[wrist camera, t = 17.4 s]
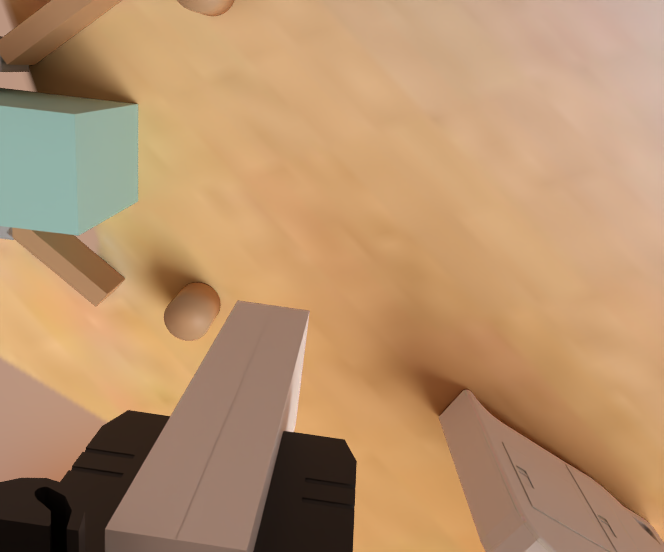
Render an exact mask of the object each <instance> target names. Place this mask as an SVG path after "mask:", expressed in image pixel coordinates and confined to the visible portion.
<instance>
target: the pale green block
mask: <svg viewBox="0 0 664 552" xmlns="http://www.w3.org/2000/svg"><path fill="white" fill-rule="evenodd" d="M136 202H138V104H133V103H125V102H116V101H107V100H99V99H90V98H82V97H73V96H64V95H56V94H47V93H38V92H31V91H23V90H14V89H5V88H0V226H4V227H12V228H21V229H29V230H37V231H45V232H53V233H62V234H70V235H80V234H82V233H84V232H86V231H87V230H89V229H91V228H93V227H94V226H96V225H98V224H100V223H101V222H103V221H105V220H106V219H108V218H110V217H112V216H113V215H115V214H117V213H119V212H120V211H122V210H124V209H126V208H127V207H129V206H131V205H133V204H134V203H136Z"/></svg>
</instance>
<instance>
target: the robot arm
mask: <svg viewBox="0 0 664 552" xmlns="http://www.w3.org/2000/svg"><path fill="white" fill-rule="evenodd" d="M309 312H310V311H308V310H301V309H294V308H287V307H280V306H273V305H266V304H259V303H252V302H245V301H237V303H236V304H235V306H234V308H233V310H232V311H231V313H230V315H229V316H228V318H227V320H226V322H225V323H224V325H223V327H222V328H221V330H220V332H219V334H218V335H217V337H216V339H215V341H214V342H213V344H212V346H211V347H210V349H209V351H208V353H207V354H206V356H205V358H204V359H203V361H202V363H201V365H200V366H199V368H198V370H197V372H196V373H195V375H194V377H193V378H192V380H191V382H190V384H189V385H188V387H187V389H186V390H185V392H184V394H183V396H182V397H181V399H180V401H179V403H178V404H177V406H176V408H175V409H174V411H173V413H172V415H171V416H164V415H157V414H150V413H144V412H137V411H130V410H128V411H126V412H125V413H123V414H121V415H120V416H118V417H116V418H115V419H113V420H112V421H110V422H108V423H107V424H105V425H103V426H102V427H101V428H100V430H99V431H98V432H97V434H96V435H95V436H94V438H93V439H92V440H91V442H90V443H89V444H88V446H87V447H86V450H85V452H82V454H81V455H80V456H79V458H78V459H77V460H76V462H75V463H74V464H73V466H72V470H71V471H70V470H69V471H68V472H67V474H66V475H65V476H64V478H63V479H62V480H61V481H60V482H57V481H54V480H51V479H47V478H18V479H14V480H9V481H4V482H0V552H353V530H354V506H355V485H356V462H357V461H356V460H355V458H354V456H353V454H352V452H351V451H350V449H349V447H348V445H347V443H346V441H345V440H343V439H336V438H330V437H323V436H316V435H309V434H302V433H295V432H294V429H295V425H296V417H297V409H298V401H299V393H300V385H301V376H302V368H303V360H304V352H305V344H306V336H307V328H308V320H309Z"/></svg>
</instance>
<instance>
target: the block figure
mask: <svg viewBox="0 0 664 552" xmlns="http://www.w3.org/2000/svg"><path fill="white" fill-rule="evenodd" d="M120 1H122V0H51V1H50V2H48V3H47V4H46V5H44V6H43V7H42V8H40V9H39V10H38V11H37V12H35V13H34V14H33V15H31V16H30V17H29V18H27V19H26V20H25V21H23V22H22V23H21V24H20V25H18V26H17V27H16V28H14V29H13V30H12V31H10V32H9V33H8V34H7V35H5V36H4V37H1V36H0V72H29V65H35V64H36V63H38V62H39V61H40V60H42V59H43V58H45V57H46V56H47V55H49V54H50V53H51V52H53V51H54V50H55V49H57V48H58V47H59V46H61V45H62V44H63V43H65V42H66V41H68V40H69V39H70V38H72V37H73V36H74V35H76V34H77V33H78V32H80V31H81V30H82V29H84V28H85V27H86V26H88V25H89V24H91V23H92V22H93V21H95V20H96V19H97V18H99V17H100V16H101V15H103V14H104V13H105V12H107V11H108V10H109V9H111V8H112V7H114V6H115V5H116V4H118V3H119V2H120ZM177 1H178V2H179V3H180V4H181V5H182V6H184V7H185V8H187V9H189V10H191V11H195V12H198V13H201V14H204V15H208V16H218V15H221V14H223V13H225V12H226V11H227V10H229V8H230V7H231V6H232V4H233V2H234V0H177ZM0 238H2V239H10V240H14V239H15V240H16V241H17V242H19V243H20V244H21V245H22V246H23V247H25V248H26V249H27V250H28V251H29V252H31V253H32V254H33V255H34V256H35V257H37V258H38V259H39V260H40V261H41V262H43V263H44V264H45V265H46V266H47V267H49V268H50V269H51V270H52V271H54V272H55V273H56V274H57V275H58V276H60V277H61V278H62V279H63V280H64V281H66V282H67V283H68V284H69V285H70V286H72V287H73V288H74V289H75V290H76V291H78V292H79V293H80V294H81V295H82V296H84V297H85V298H86V299H87V300H88V301H90V302H91V303H92V304H93V305H94V306H98V305H99V304H100V303H101V302H102V301H103V300H104V299H106V298H107V297H108V296H109V295H110V294H111V293H113V292H114V291H115V290H116V289H117V287H118V286H119V285H120V284H121V283H122V282H123V281H124V280H125V278H124V277H122V276H121V275H120V274H119V273H118V272H116V271H115V270H114V269H113V268H112V267H111V266H109V265H108V264H107V263H106V262H105V261H104V260H102V259H101V258H100V257H99V256H98V255H97V254H95V253H94V252H93V251H92V250H91V249H89V248H88V247H87V246H86V245H85V244H84V243H82V242H81V241H80V240H79V239H78V238H77V237H75V236H74V235H70V234H62V233H53V232H45V231H37V230H29V229H21V228H12V227H4V226H0ZM219 311H220V298H219V296H218V294H217V293H216V291H215V290H214V289H213V288H212V287H210V286H209V285H206V284H204V283H191V284H188V285H186V286H185V287H184V288H183V289H182V290H181V291H180V292H179V293H178V295H177V296H176V297H175V298H174V299H173V300H172V302H171V303H170V304H169V305H168V306H167V308H166V310H165V313H164V322H165V325H166V327H167V329H168V330H169V332H170V333H171V334H172V335H174V336H175V337H177V338H179V339H181V340H185V341H193V340H197V339H199V338H201V337H202V336H204V335H205V333H206V332H207V330H208V329H209V327H210V326H211V324H212V322H213V321H214V319H215V318H216V316H217V314H218V313H219Z"/></svg>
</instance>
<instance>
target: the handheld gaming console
mask: <svg viewBox="0 0 664 552" xmlns="http://www.w3.org/2000/svg"><path fill="white" fill-rule="evenodd" d="M439 420H440V423H441V426H442V429H443V432H444V435H445V438H446V441H447V444H448V447H449V450H450V452H451V455H452V458H453V461H454V464H455V467H456V470H457V473H458V476H459V479H460V482H461V485H462V488H463V491H464V494H465V497H466V499H467V502H468V505H469V508H470V511H471V514H472V517H473V520H474V523H475V526H476V529H477V532H478V535H479V538H480V541H481V543H482V545H483V547H484V549H485V551H486V552H664V542H663V541H662V539H661V538H660V537H659V535H658V534H657V532H656V531H655V529H654V528H653V527H652V526H651V524H650V523H649V522H647V521H646V520H644V519H643V518H642V517H640V516H639V515H637V514H635V513H634V512H632V511H630V510H629V509H627V508H626V507H624V506H622V505H621V504H620V503H619V502H618V501H617V500H616V499H615V498H614V497H613V496H612V495H611V494H610V493H609V492H608V491H607V490H605V489H604V488H603V487H602V486H601V485H599V484H598V483H597V482H596V481H594V480H593V479H592V478H590V477H589V476H587V475H586V474H584V473H582V472H581V471H579V470H577V469H576V468H574V467H573V466H571V465H569V464H568V463H566V462H564V461H563V460H561V459H559V458H558V457H556V456H555V455H553V454H551V453H550V452H548V451H547V450H545V449H543V448H542V447H540V446H539V445H537V444H535V443H534V442H532V441H531V440H529V439H528V438H526V437H524V436H523V435H521V434H520V433H518V432H516V431H515V430H513V429H512V428H510V427H508V426H507V425H505V424H504V423H502V422H501V421H499V420H498V419H497V418H495V417H494V416H493V415H491V414H490V413H489V412H488V411H487V410H486V409H485V408H484V407H483V406H482V405H481V404H480V402H479V401H478V400H477V399H476V397H475V396H474V395H473V393H472V392H471V391H469V390H463V391H462V393H461V394H460V395H459V396H458V397H457V398H456V399H455V400H454V401H453V402H452V403H451V404H450V405H449V406H448V408H447V409H446V410H445V411H444V412H443V413H442V414H441V415H440V416H439Z"/></svg>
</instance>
